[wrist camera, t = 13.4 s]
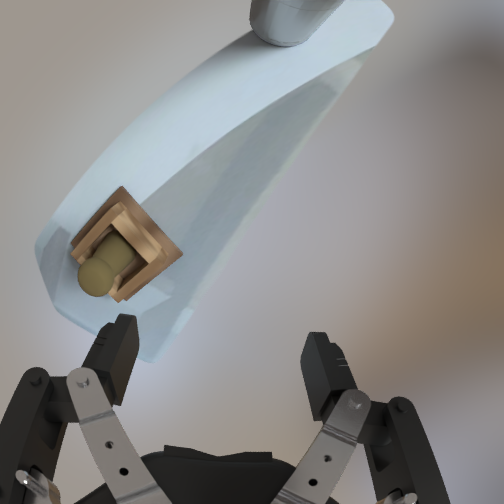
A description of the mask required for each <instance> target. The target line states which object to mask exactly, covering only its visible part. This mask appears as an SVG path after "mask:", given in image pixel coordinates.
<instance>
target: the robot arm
mask: <svg viewBox="0 0 504 504" xmlns="http://www.w3.org/2000/svg"><path fill="white" fill-rule="evenodd" d="M344 1H345V0H252V3H251V9H250V25H251V27H252V29H253V31H254V32H255V33H256V34H257V35H258V36H259V37H260V38H261V39H263V40H264V41H266V42H268V43H270V44H273V45H277V46H288V47H289V46H295V45H298V44H301V43H303V42H305V41H306V40H307V39H308V38H309V37H310V36H311V35H312V34H313V33H314V32H315V31H316V30H317V29H318V28H319V27H320V26H321V25H322V24H323V23H324V22H325V20H326V19H327V18H328V17H329V16H330V15H331V14H332V13H333V12H334V11H335V10H336V9H337V8H338V7H339V6H340V5H341V4H342V3H343V2H344ZM138 351H139V334H138V327H137V319H136V316H134V315H127V314H121V313H120V314H119V315H118V317H117V319H116V321H115V323H110V322H109V323H107V324H106V325H105V326H104V327H102V328H101V330H100V331H99V333H98V335H97V338H96V339H95V341H94V344H93V345H92V347H91V349H90V351H89V352H88V355H87V356H86V359H85V361H84V362H83V365H82V366H81V368H77V369H74V370H73V371H71V372H70V373H69V375H68V376H64V377H50V376H49V374H48V372H47V371H46V370H45V369H43V368H40V367H34V368H31V369H29V370H27V371H26V372H25V373H24V374H23V376H22V378H21V380H20V382H19V384H18V386H17V388H16V390H15V392H14V394H13V397H12V399H11V401H10V403H9V405H8V407H7V410H6V412H5V414H4V417H3V419H2V421H1V424H0V504H61V503H60V492H59V490H58V488H57V486H56V485H55V484H54V483H53V482H52V481H53V477H54V473H55V469H56V464H57V460H58V457H59V452H60V449H61V445H62V441H63V438H64V435H65V431H66V428H67V425H68V422H70V423H71V422H72V423H73V422H75V423H79V425H80V428H81V430H82V433H83V435H84V438H85V440H86V442H87V445H88V447H89V449H90V451H91V453H92V456H93V457H94V460H95V462H96V464H97V466H98V468H99V470H100V472H101V474H102V476H103V478H104V480H105V483H104V484H102V485H101V486H100V487H98V488H97V489H95V490H94V491H93V492H91V493H89V494H88V495H86V496H85V497H83V498H82V499H80V500H79V501H77V502H76V503H74V504H339V503H338V502H337V501H335V500H334V499H333V498H331V497H330V495H331V493H332V491H333V490H334V488H335V486H336V484H337V483H338V481H339V479H340V477H341V475H342V473H343V472H344V470H345V468H346V466H347V464H348V462H349V460H350V458H351V456H352V454H353V452H354V450H355V448H356V445H357V443H361V444H364V448H365V452H366V456H367V460H368V464H369V468H370V472H371V476H372V480H373V485H374V490H375V494H376V499H377V503H376V504H450V500H449V497H448V494H447V491H446V488H445V485H444V482H443V479H442V476H441V473H440V470H439V468H438V465H437V462H436V460H435V457H434V454H433V451H432V449H431V446H430V443H429V441H428V438H427V436H426V433H425V431H424V428H423V426H422V424H421V421H420V419H419V416H418V414H417V412H416V409H415V407H414V405H413V404H412V402H411V401H409V400H408V399H406V398H404V397H394V398H392V399H391V400H390V401H389V403H382V402H375V401H371V400H370V398H369V396H368V395H367V394H366V393H364V392H363V391H361V390H358V388H357V386H356V383H355V381H354V378H353V376H352V373H351V371H350V368H349V366H348V363H347V361H346V360H345V356H344V354H343V352H342V350H341V349H340V347H339V346H337V344H336V343H330V341H329V339H328V336H327V334H326V333H325V332H310V333H309V334H308V337H307V340H306V343H305V346H304V349H303V352H302V355H301V361H300V363H301V370H302V374H303V378H304V382H305V386H306V390H307V394H308V398H309V402H310V406H311V411H312V415H313V420H314V421H322V422H323V427H322V428H321V430H320V432H319V433H318V435H317V436H316V438H315V440H314V441H313V443H312V444H311V446H310V447H309V449H308V450H307V452H306V453H305V455H304V456H303V458H302V459H301V460H300V462H299V463H298V465H297V466H296V468H295V467H294V466H292V465H290V464H289V463H287V462H284V461H282V460H278V459H274V458H272V452H243V453H237V454H232V455H226V456H214V455H210V454H207V453H203V452H201V451H197V450H194V449H191V448H183V447H176V446H169V445H164V451H159V452H153V453H150V454H147V455H144V456H142V457H139V456H138V454H137V452H136V450H135V449H134V447H133V445H132V444H131V442H130V440H129V438H128V436H127V435H126V433H125V431H124V429H123V427H122V425H121V424H120V422H119V420H118V418H117V416H116V414H115V412H114V411H113V409H112V407H113V404H114V405H118V406H121V404H122V401H123V397H124V394H125V391H126V387H127V385H128V381H129V378H130V375H131V372H132V369H133V366H134V363H135V360H136V357H137V355H138Z"/></svg>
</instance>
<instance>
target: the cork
mask: <svg viewBox="0 0 504 504" xmlns="http://www.w3.org/2000/svg"><path fill="white" fill-rule="evenodd" d="M135 256H136V249H135V248H134V247H133V246H132V245H131V244H130V243H129V242H128V241H127V240H126V239H125V238H124V236H123V235H122V234H121V233H120V232H119V231H118V230H115V231H111V232H109V233H108V234H107V235H106V236H105V237H104V239H103V240H102V242H101V244H100V245H99V247H98V248H97V250H96V252H95V253H94V255H93V257H92V258H89V259H87V260H86V261H84V262H83V263H82V264H81V266H80V267H79V270H78V282H79V285H80V287H81V288H82V289H83V291H85V292H86V293H87V294H89V295H91V296H94V297H99V296H103V295H106V294H107V293H108V292H109V291H110V290H111V288H112V287H113V283H114V278H115V277H116V276H117V275H118V274H120V273H121V272H122V271H123V270H124V269H125V268H126V267H127V266H128V265H129V264H130V263H131V262H132V261H133V260H134V259H135Z"/></svg>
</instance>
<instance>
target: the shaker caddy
mask: <svg viewBox="0 0 504 504" xmlns="http://www.w3.org/2000/svg"><path fill="white" fill-rule="evenodd" d="M115 230H118V231H119V232H120V233H121V234H122V235H123V236H124V238H125V239H126V240H127V241H128V242H129V243H130V244H131V245H132V246H133V247H134V248H135V249H136V256H135V259H134V260H133V261H132V262H131V263H130V264H129V265H128V266H127V267H126V268H125V269H124V270H123V271H122V272H121V273H120V274H118V275H117V276H116V277H115V278H114V283H113V287H112V288H111V290H110V291H109V292H108V294H109V295H110V296H111V297H112V298H113V299H114V300H115V301H116V302H118V303H119V302H120V301H121V300H123V299H125V300H126V301H127V300H128V299H129V298H131V297H132V296H133V295H134V294H135V293H137V292H138V291H139V290H140V289H142V288H143V287H144V286H145V285H146V284H148V283H149V282H150V281H151V280H152V279H154V278H155V277H156V276H157V275H159V274H160V273H161V272H162V271H164V270H165V269H166V268H167V267H168V266H170V265H171V264H172V263H173V262H175V261H176V260H177V259H178V258H180V257H181V256H182V255H183V253H182V252H181V251H180V250H179V248H178V247H177V246H176V245H175V244H174V243H173V242H172V241H171V240H170V239H169V238H168V237H167V235H166V234H165V233H164V232H163V231H162V230H161V229H160V228H159V227H158V226H157V224H156V223H155V222H154V221H153V220H152V219H151V218H150V217H149V216H148V214H147V213H146V212H145V211H144V210H143V209H142V208H141V207H140V205H139V204H138V203H137V202H136V201H135V200H134V199H133V197H132V196H131V195H130V194H129V193H128V192H127V191H126V189H125V188H124V187H123V186H121V187H120V188H119V189H118V190H117V191H116V192H115V193H114V194H113V195H112V196H111V197H110V198H109V199H108V201H107V202H106V203H105V204H104V205H103V206H102V207H101V208H100V209H99V210H98V212H97V213H96V214H95V215H94V216H93V217H92V218H91V219H90V221H89V222H88V223H87V224H86V225H85V226H84V228H83V229H82V230H81V231H80V232H79V234H78V235H77V236H76V237H75V238H74V240H73V241H72V242H71V244H72V245H73V247H74V248H75V249H74V250H73V251H72V253H71V255H72V256H73V257H74V259H75V260H76V261H77V262H78V263H79V264H80V265H81V264H82V263H83V262H84V261H86V260H87V259H89V258H92V257H93V255H94V253H95V252H96V250H97V248H98V247H99V245H100V244H101V242H102V240H103V239H104V237H105V236H106V235H107V234H108V233H109V232H111V231H115Z"/></svg>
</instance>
